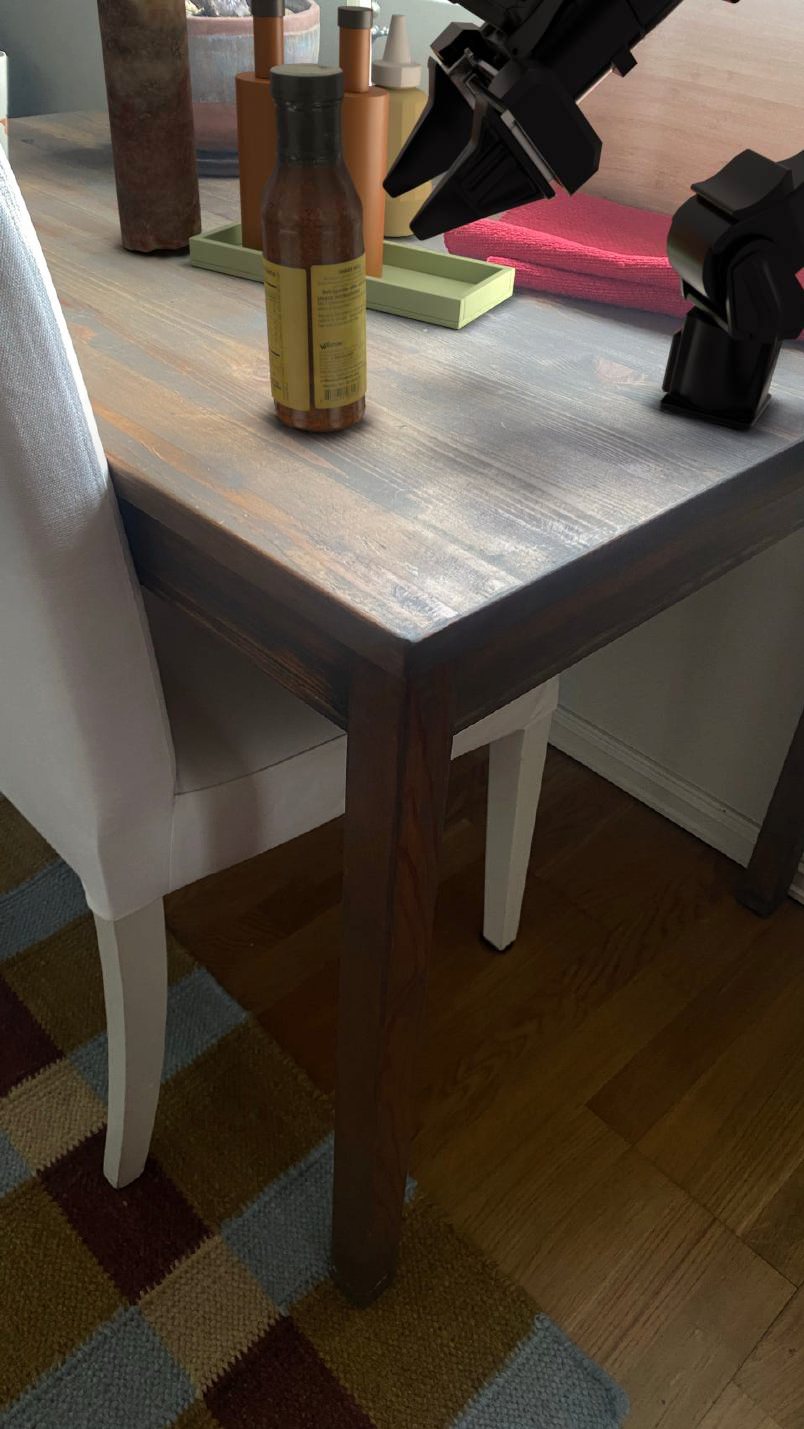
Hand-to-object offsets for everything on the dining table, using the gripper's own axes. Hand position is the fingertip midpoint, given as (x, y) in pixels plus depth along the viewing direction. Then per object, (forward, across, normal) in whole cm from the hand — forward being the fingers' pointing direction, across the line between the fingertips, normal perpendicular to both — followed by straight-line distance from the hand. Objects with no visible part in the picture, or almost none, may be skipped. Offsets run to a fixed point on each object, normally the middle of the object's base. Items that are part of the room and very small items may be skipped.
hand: (399, 212), depth 62 cm
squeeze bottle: (+4, -44, +14) cm, 46 cm away
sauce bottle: (+13, 0, +6) cm, 14 cm away
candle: (+20, -39, -1) cm, 43 cm away
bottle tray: (+8, -28, +10) cm, 31 cm away
